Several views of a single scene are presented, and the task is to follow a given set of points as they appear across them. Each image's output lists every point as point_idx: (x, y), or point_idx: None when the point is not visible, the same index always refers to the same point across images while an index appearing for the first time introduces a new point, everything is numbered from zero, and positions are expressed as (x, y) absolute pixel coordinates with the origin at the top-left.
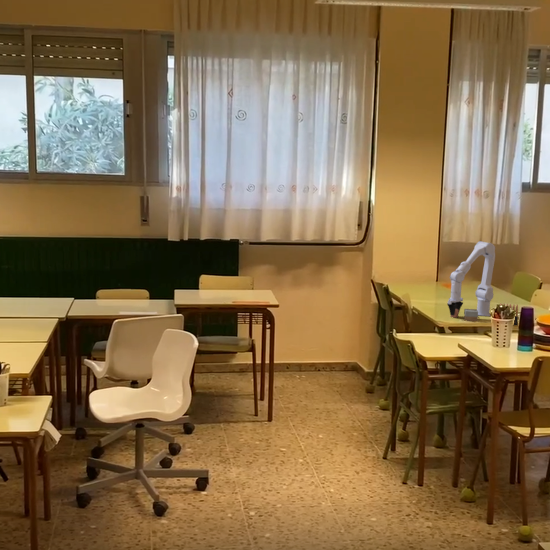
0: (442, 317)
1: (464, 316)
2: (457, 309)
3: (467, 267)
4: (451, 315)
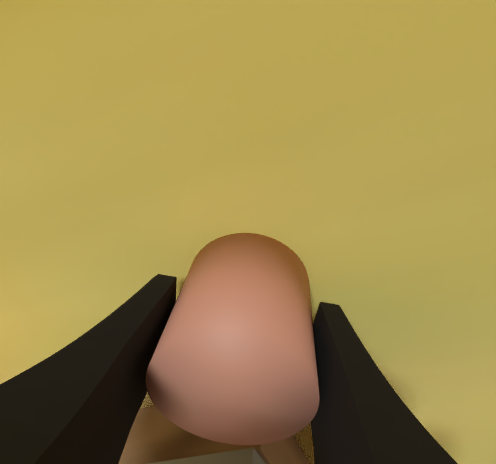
0: (59, 145)
1: None
2: (282, 427)
3: None
4: (188, 275)
